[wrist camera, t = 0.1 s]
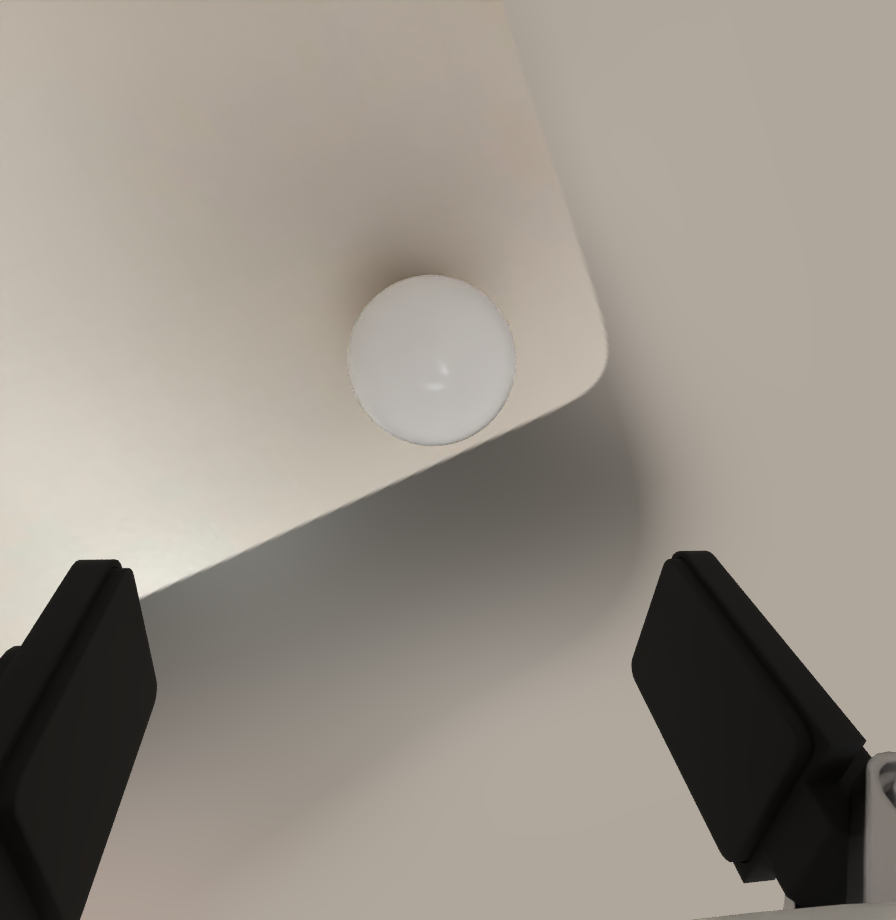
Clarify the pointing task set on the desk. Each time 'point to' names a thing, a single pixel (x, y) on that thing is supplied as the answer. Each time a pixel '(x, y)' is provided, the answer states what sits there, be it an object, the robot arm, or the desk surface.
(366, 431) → the desk surface
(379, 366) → the lightbulb
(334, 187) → the desk surface
